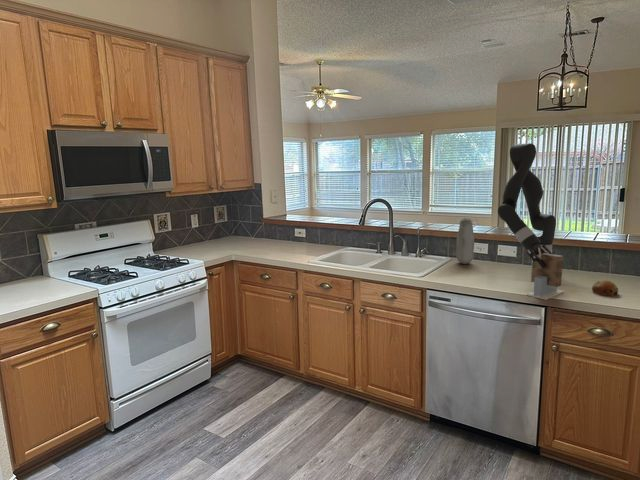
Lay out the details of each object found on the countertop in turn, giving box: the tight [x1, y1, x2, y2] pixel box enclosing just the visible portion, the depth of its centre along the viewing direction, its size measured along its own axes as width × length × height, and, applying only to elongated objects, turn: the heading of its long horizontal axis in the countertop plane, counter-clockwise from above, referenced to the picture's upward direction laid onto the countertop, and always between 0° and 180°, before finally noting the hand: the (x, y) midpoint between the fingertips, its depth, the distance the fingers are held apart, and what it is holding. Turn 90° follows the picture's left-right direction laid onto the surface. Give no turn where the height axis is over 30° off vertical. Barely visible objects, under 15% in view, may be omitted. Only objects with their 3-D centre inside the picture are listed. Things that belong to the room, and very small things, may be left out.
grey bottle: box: [455, 217, 475, 265], centre depth 260 cm, size 10×10×28 cm
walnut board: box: [530, 253, 564, 288], centre depth 198 cm, size 12×4×14 cm, turn 36°
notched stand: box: [526, 276, 565, 301], centre depth 200 cm, size 17×9×9 cm, turn 126°
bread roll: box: [591, 279, 620, 297], centre depth 200 cm, size 10×10×8 cm
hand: (550, 265), depth 197 cm, fingers open, 8 cm apart
